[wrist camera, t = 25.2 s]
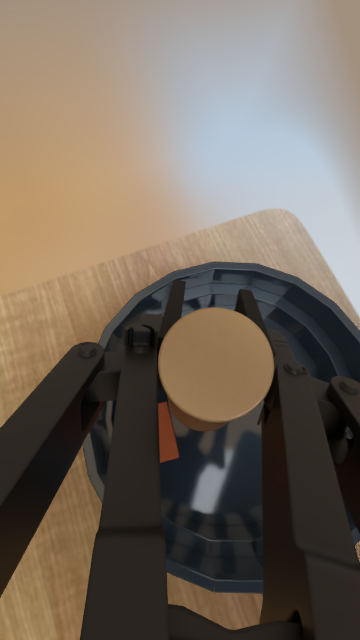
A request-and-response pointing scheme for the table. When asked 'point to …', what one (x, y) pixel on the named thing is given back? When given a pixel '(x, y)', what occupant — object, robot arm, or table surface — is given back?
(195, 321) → the pestle
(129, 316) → the bowl
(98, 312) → the table surface
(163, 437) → the terracotta block
